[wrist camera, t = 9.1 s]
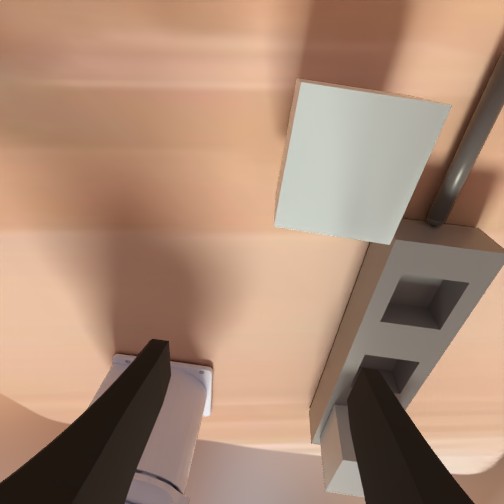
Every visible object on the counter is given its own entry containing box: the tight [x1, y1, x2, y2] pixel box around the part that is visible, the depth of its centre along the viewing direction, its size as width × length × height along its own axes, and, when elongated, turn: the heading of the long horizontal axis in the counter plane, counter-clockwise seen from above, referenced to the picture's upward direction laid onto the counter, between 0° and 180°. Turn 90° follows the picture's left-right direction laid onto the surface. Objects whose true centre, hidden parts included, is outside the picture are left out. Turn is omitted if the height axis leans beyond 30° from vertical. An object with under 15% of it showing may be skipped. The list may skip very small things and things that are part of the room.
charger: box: [274, 78, 452, 245], centre depth 14 cm, size 5×5×6 cm
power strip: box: [309, 50, 504, 497], centre depth 19 cm, size 6×31×7 cm, turn 175°
